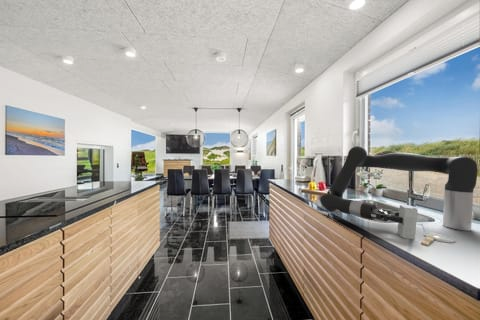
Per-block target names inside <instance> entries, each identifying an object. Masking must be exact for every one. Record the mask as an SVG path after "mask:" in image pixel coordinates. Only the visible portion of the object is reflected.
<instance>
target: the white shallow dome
mask: <svg viewBox="0 0 480 320" xmlns="http://www.w3.org/2000/svg"><path fill="white" fill-rule="evenodd" d="M423 236H424V237H425V238H426V237H432V238H435V240H434V241H437V242H440V243H448V244H451V243H452V244H453V243H456V239H455V238H454V237H452V236H449V235H445V234H442V233H437V232H427V231H426V232H423Z"/></svg>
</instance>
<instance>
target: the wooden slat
mask: <svg viewBox="0 0 480 320" xmlns="http://www.w3.org/2000/svg"><path fill="white" fill-rule="evenodd" d="M434 241H436V240H435V238H432V237H425V238H424V239H423V240H421V242H420V245H423V246H427V247H429V246H430V245H431V244H432V243H434Z"/></svg>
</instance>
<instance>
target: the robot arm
mask: <svg viewBox="0 0 480 320" xmlns="http://www.w3.org/2000/svg"><path fill="white" fill-rule="evenodd" d="M357 168H377V169H387V170H396V171H405V172H433V173H440V174H445V175H448V179H447V182H446V183H445V184H444V195H443V198H444V199H443V212H442V213H443V215H442V226H444V227H446V228H449V229H454V230H459V231H467V232H470V231H472V224H473V222H472V220H473V206H474V191H475V188H476V186H477V180H478V179H477V178H478V169H479V168H478V164H477V161H475V160H474V159H473V158H471V157H469V156H449V157H448V156H445V157H444V156H443V157H442V156H428V155H424V154H423V155H422V154H418V153H412V152H410V153H409V152H401V151H400V152H398V151H397V152H390V153H385V154H384V153H383V154H378V155H373V154H371V155H370V154H368V151H367V150H366V149H365V147H363V146H359V145H357V146H356V145H355V146H353V147H351V148H350V149H349V151H348V154H347V157H346V159H345V161H344V164H343V165H342V168H341V169H340V171H339V172H338V174H337V176H336V177H335V179H334V181H332V184H331V185H330V187H329V192H330V193H323V194H322V195H321V196H320V198H319V202H320V204H321V205H322V207H323V208H324V209H325V210H326V211H327V212H330V213H334V212H335V211H337V210H338V211H339V212H341V213H343V214H346V215H351V216H353V217H357V218H360V219H365V220H369V221H375V220H379V221H382V222H394V223H403V218H402V217H399V210H396V209H389V208H385V207H383V208H382V207H381V208H377V204H375V203H372V202H366V201H361V200H353V199H348V198H343V195H344V193H345V192H346V190H347V189H348V186H349V184H350V182H351V180H352V178H353V175H354V173H355V172H356V169H357Z"/></svg>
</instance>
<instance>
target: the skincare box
mask: <svg viewBox="0 0 480 320" xmlns="http://www.w3.org/2000/svg"><path fill="white" fill-rule="evenodd" d="M398 212H399V217H402V218H403V223H398V222H397V223H398V224H397V233H398V235H399V236H400V238H404V239H408V240H409V239H410V240H416V232H417V231H416V230H417V222H418V221H417V220H418V208H416V207H414V206H413V205H407V204H399V210H398Z"/></svg>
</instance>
